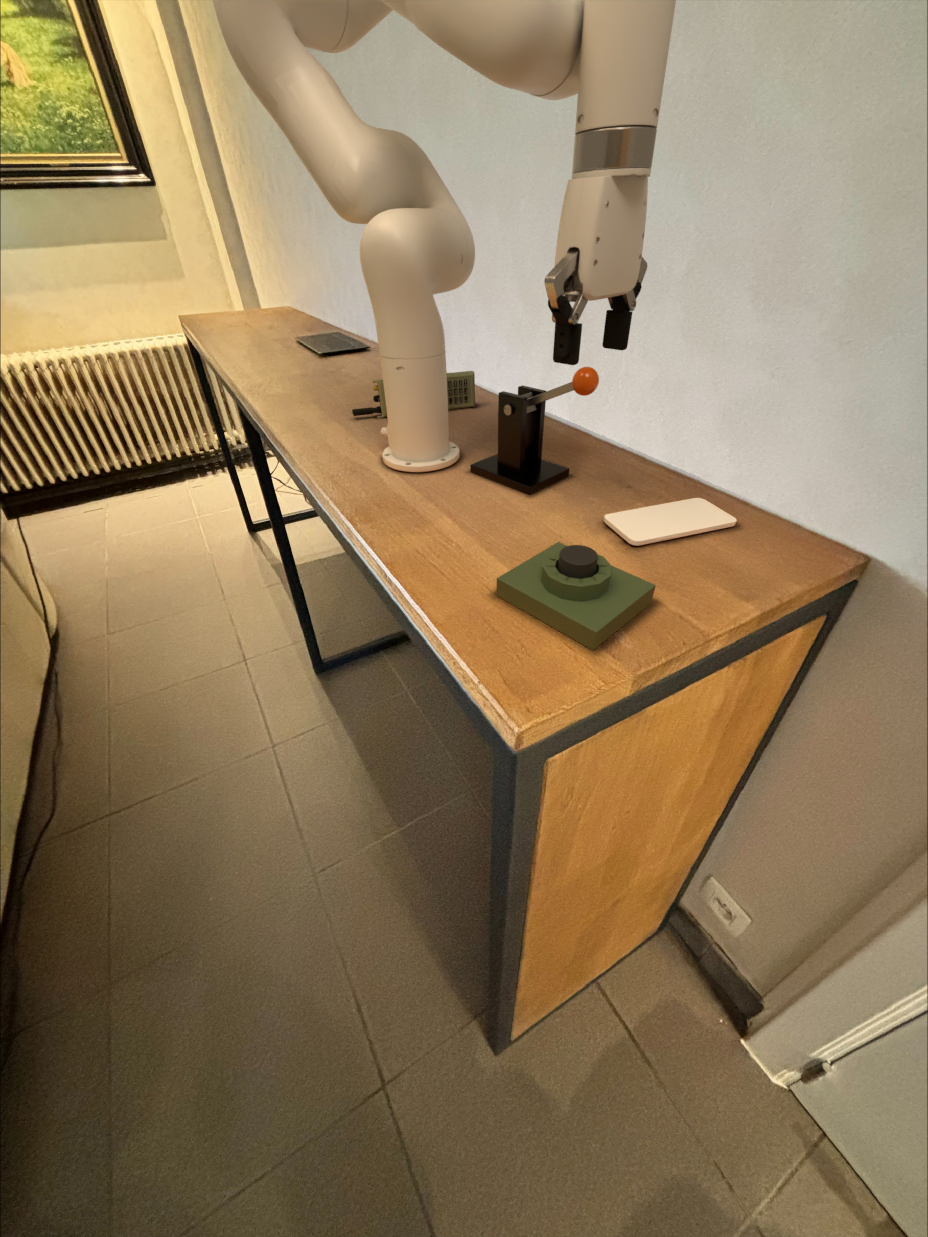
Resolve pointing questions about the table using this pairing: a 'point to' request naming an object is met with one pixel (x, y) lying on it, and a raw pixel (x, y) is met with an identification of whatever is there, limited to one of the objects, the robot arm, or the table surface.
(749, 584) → the table surface
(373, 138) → the robot arm
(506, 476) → the switch bracket
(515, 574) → the button box
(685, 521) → the smartphone
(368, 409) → the handheld radio
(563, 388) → the switch lever
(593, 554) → the push button
